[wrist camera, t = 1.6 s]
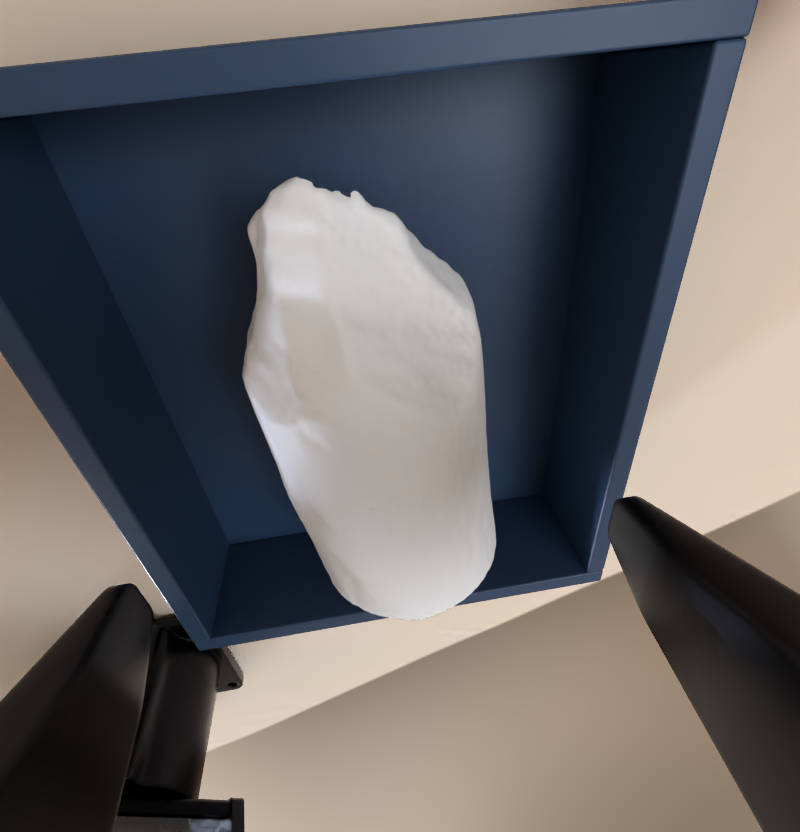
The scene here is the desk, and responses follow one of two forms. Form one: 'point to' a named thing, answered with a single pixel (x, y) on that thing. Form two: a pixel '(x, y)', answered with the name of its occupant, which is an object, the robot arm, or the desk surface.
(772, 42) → the desk surface
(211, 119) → the blue box
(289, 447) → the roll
